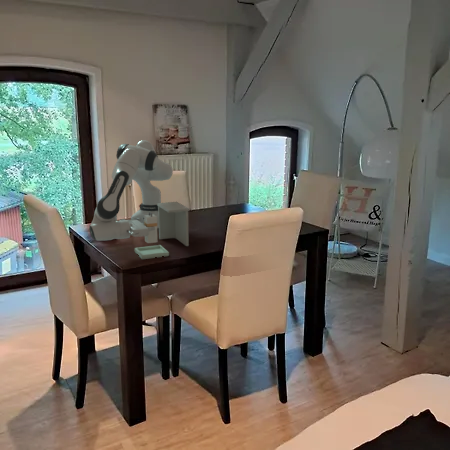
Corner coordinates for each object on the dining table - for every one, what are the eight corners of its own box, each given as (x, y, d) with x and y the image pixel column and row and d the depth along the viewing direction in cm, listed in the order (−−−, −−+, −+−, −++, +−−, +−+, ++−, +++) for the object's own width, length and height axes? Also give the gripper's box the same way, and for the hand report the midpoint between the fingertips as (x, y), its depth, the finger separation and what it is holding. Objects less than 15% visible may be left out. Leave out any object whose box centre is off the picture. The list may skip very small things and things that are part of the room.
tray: (142, 259, 236) (141, 255, 235) (134, 251, 248) (134, 248, 247) (168, 255, 241) (168, 252, 241) (160, 248, 253) (160, 244, 253)
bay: (169, 248, 253) (168, 210, 248) (158, 239, 270) (157, 203, 265) (189, 246, 258) (189, 208, 253) (177, 236, 275) (176, 201, 270)
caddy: (147, 243, 239) (146, 214, 236) (144, 240, 244) (143, 212, 240) (157, 242, 242) (156, 213, 238) (154, 239, 246) (153, 211, 243)
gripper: (129, 227, 226) (158, 225, 231) (119, 218, 244) (146, 216, 249) (130, 241, 227) (159, 237, 233) (120, 230, 245) (147, 228, 251)
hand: (152, 226), depth 241 cm, fingers closed on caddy, 5 cm apart
